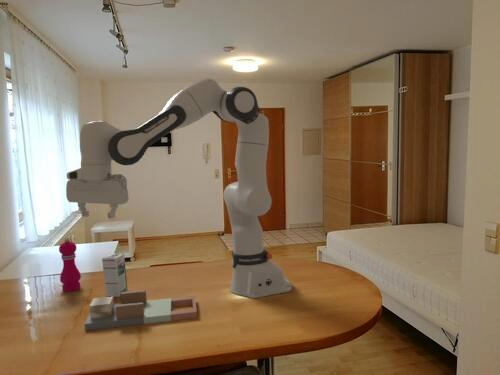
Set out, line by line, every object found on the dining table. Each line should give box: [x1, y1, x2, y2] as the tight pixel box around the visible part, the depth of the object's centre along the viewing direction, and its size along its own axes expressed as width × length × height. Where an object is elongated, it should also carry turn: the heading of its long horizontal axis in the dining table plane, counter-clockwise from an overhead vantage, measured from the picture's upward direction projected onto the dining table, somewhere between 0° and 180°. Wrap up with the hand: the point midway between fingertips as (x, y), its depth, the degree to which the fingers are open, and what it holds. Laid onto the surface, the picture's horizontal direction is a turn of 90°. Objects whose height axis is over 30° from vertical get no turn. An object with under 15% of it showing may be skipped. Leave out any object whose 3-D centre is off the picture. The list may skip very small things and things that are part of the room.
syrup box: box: [101, 252, 129, 298], centre depth 145 cm, size 6×6×14 cm
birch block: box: [89, 296, 115, 318], centre depth 125 cm, size 6×6×4 cm
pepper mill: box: [58, 237, 82, 293], centre depth 151 cm, size 7×7×20 cm
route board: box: [84, 289, 198, 331], centre depth 127 cm, size 33×13×6 cm, turn 100°
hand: (98, 217), depth 126 cm, fingers open, 8 cm apart
